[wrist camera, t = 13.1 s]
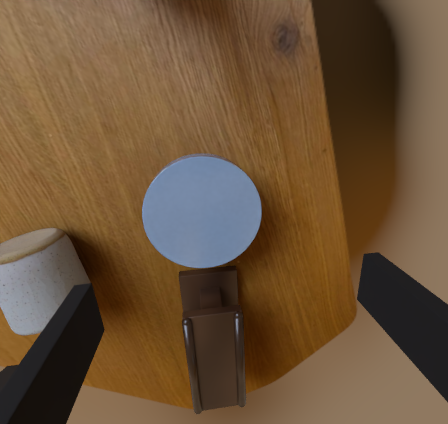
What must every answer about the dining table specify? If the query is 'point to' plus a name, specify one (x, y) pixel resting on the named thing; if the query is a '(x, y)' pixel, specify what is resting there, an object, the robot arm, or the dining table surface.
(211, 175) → the side plate
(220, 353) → the plate rack
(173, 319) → the dining table surface
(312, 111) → the dining table surface
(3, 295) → the ceramic mug
